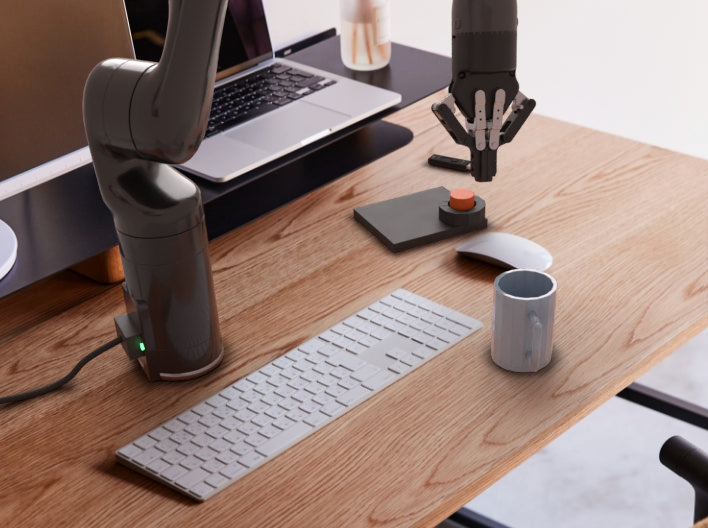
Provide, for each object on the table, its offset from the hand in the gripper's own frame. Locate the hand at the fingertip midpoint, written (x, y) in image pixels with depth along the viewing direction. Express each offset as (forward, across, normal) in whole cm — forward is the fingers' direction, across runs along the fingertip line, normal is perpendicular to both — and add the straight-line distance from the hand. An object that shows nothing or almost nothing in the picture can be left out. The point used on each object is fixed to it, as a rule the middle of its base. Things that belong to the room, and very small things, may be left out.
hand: (483, 181), depth 129 cm
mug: (+17, +3, +19) cm, 26 cm away
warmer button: (+5, -2, -12) cm, 13 cm away
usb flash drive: (+1, -8, -30) cm, 31 cm away
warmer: (+7, +3, -15) cm, 17 cm away
